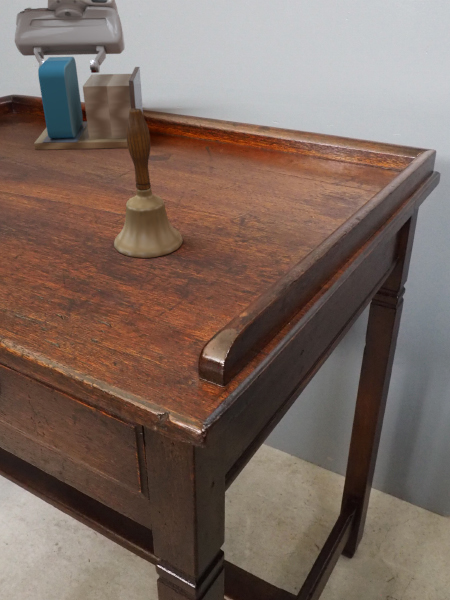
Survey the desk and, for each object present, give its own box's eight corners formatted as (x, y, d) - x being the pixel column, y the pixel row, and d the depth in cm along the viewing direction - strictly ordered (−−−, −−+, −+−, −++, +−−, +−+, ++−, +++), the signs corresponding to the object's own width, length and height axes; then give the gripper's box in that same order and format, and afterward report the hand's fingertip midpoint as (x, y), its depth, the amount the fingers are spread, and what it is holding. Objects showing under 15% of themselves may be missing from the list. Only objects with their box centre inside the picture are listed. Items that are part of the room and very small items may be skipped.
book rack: (35, 149, 107) (23, 83, 102) (50, 129, 118) (41, 67, 113) (138, 147, 108) (133, 81, 102) (144, 127, 119) (139, 66, 113)
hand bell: (152, 264, 70) (141, 123, 62) (99, 247, 74) (82, 112, 66) (196, 238, 76) (191, 106, 68) (145, 223, 80) (134, 96, 72)
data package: (59, 122, 117) (49, 55, 111) (83, 121, 118) (74, 55, 111) (48, 141, 107) (36, 68, 101) (74, 140, 107) (64, 67, 101)
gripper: (11, -3, 115) (7, 62, 112) (121, -5, 116) (120, 59, 112) (22, 20, 121) (18, 82, 118) (126, 18, 122) (125, 80, 119)
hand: (69, 71), depth 115 cm, fingers open, 8 cm apart
